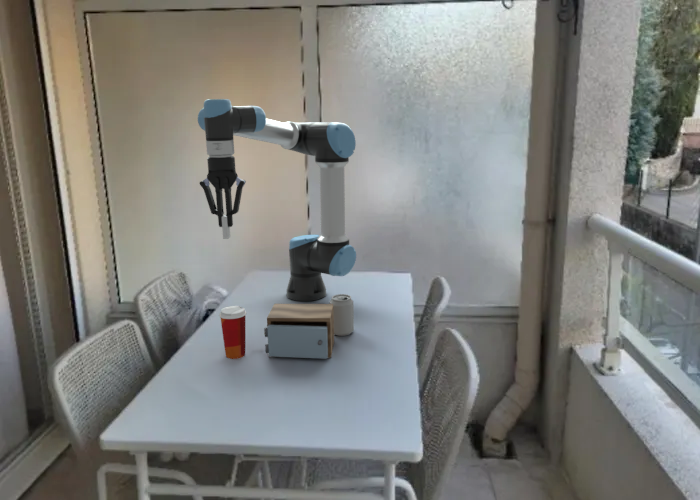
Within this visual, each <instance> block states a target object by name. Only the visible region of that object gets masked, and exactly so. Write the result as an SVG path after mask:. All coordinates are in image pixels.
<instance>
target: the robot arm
mask: <svg viewBox="0 0 700 500" xmlns="http://www.w3.org/2000/svg"><path fill="white" fill-rule="evenodd" d="M197 123H198V126H199V127H200V129H202V130H203V132H204V133H205V145H206V146H205V147H206V155H208V157H207V159H206V160H207V168H208V172H207V175H206V178H204V179H203V180H201V181H199V186H200V187H201V188H202V190H203V191H204V195H205V199H206V201H207V204H208V207H209V210H210V213H211V215H216V216H217V221H218V222H217V223H218V227H219V228H222V239H223V240H228V239H230V238H231V227H233V225H234V221H233V219H234V218H233V215H236V214H238V213H239V210H240V205H241V204H240V203H241V199H242V193H243V188H244V186H245V185H246V182H247V181H246V180H245V179H242V178H240V177H238V174H237V172H236V158H235V156H234V155H235V144H234V143H235V142H234V139H235V138H234V136H235V137H240V138H245V139H250V140H256V141H259V142H260V141H261V142H265V143H270V144H275V145H278V146H280V147H281V148H283V149H285V150H288V151H293V152H296V153H299V154H303V155H306V156H311V157H312V156H313V157H314V161H315V164H316V165H317V166H318V168H319V191H320V193H319V194H320V195H319V196H320V197H319V199H320V235H319V234H305V235H298V236H295V237H292V238H291V239H290V240H289V246H288V247H289V248H288V251H289V252H288V253H289V269H290V277H289V281H288V283H287V287H286V297H287V298H288V299H290V300H292V301H298V302H310V301H317V300H320V299H323V298H324V297H326V296H327V288H326V286H325V285H326V284H325V282H324V280H323V276H322V274H325V275H329V276H331V277H346V276H347V275H348V274H349V273H350V272H352V269H353V268H354V266H355V264H356V261H357V251H356V249H355V248H354V246H352V245H350V237H349V236H348V234H346V211H345V210H346V207H345V206H346V205H345V204H346V203H345V202H346V201H345V199H346V198H345V195H346V194H345V191H346V190H345V188H346V187H345V186H346V185H345V167H346V165H348V164H349V160H350V159H349V158H350V157H351V156H353V155H354V153H355V152H354V151H355V150H356V145H357V144H356V137H355V134H354V131H353V130H352V129H351V127H350V126H349V125H348V124H346V123H343V122H337V121H333V122H332V121H329V122H328V121H327V122H326V121H325V122H324V121H323V122H322V121H321V122H320V121H319V122H313V121H311V122H310V121H309V122H308V121H307V122H295V121H290V120H289V121H285V122H281V121H278V120H274V119H270V118H267V116H266V112H265V111H264V109H263V108H262V107H260V106H257V105H241V106H240V105H239V106H238V105H235V106H234V105H232V102H231V100H230V99H228V98H226V99H225V98H220V99H219V98H212V99H210V98H208V99H205V100H204V102H203V108H201V109H200V110H199V111H198V114H197ZM234 184H235V185H236V186H237V187H236V191H235V194H234V195H235V196H234V202H233V201H232V200H233V199H232V187H233V186H234ZM210 185H212V187H213V188H214V190H215V198H214V195H213V193H212V189H211V187H210ZM223 190H224V191H223ZM223 192H224V198H225V212H224V200H223V199H224V198H223ZM215 199H216V202H215ZM225 213H226V214H225Z"/></svg>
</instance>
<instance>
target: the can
mask: <svg viewBox="0 0 700 500" xmlns="http://www.w3.org/2000/svg"><path fill="white" fill-rule="evenodd" d="M329 304H333V307H334V336H340V337H344V336H349V335H351V334H352V333H353V332H354V331H355V330H354V329H355V327H354V326H355V325H354V324H355V323H354V315H355V314H354V300H353V299H352V296H351V295H350V294H346V293H340V294H339V293H338V294H334V295H332V296H331V300H329Z"/></svg>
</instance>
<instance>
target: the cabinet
mask: <svg viewBox="0 0 700 500" xmlns="http://www.w3.org/2000/svg"><path fill="white" fill-rule="evenodd" d="M268 325H295V326H325V327H327V336H328V358H332V355H333V349H334V344H335V334H334V307H333V304H330V303H274V304H273V305H272V307H271V309H270V310H269V314H268V315H267V317H266V328H267V327H268ZM268 357H269V358H274V357H273V356H269V355H268ZM328 358H327V359H328Z"/></svg>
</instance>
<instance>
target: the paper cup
mask: <svg viewBox="0 0 700 500" xmlns="http://www.w3.org/2000/svg"><path fill="white" fill-rule="evenodd" d="M246 315H247V311H246V309H245V307H243V306H240V305H231V306H226V307H223V308H221V310H220V313H219V315H218V316H219V318H220V324H221V330H222V339H223V345H224V353H225V357H226V358H227V359H229V360H238V359H242V358H244V357H245V355H246Z"/></svg>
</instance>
